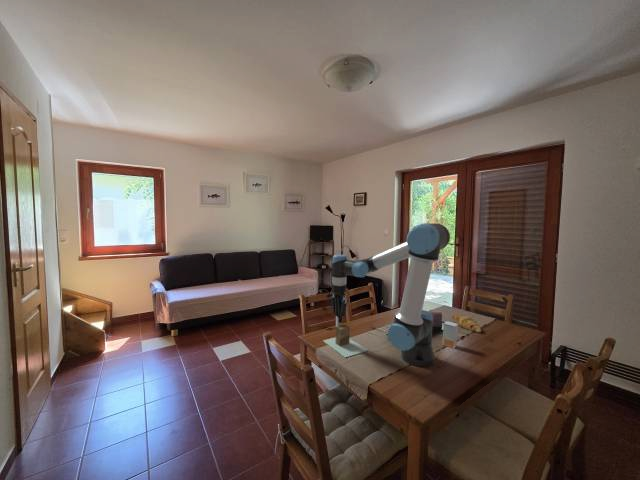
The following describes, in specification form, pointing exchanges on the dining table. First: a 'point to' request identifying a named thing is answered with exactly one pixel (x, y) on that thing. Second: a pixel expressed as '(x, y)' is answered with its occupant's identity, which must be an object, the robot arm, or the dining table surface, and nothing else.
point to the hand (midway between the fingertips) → (338, 327)
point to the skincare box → (450, 334)
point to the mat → (346, 347)
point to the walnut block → (342, 335)
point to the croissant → (467, 323)
